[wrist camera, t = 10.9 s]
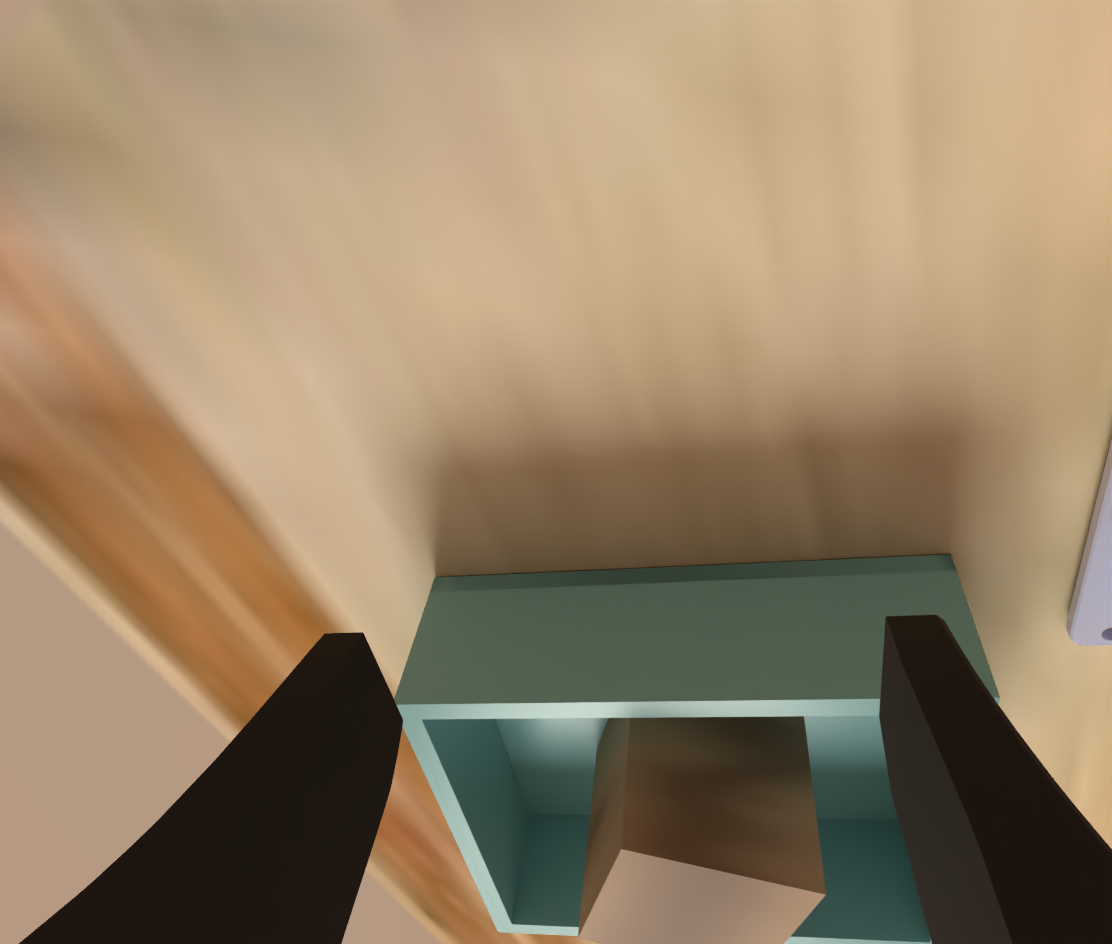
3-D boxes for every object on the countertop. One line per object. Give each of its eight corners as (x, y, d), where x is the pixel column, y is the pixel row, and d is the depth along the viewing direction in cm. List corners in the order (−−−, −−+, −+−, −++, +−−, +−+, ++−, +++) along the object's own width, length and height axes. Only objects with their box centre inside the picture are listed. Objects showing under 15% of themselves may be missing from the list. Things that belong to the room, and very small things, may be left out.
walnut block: (800, 689, 25) (826, 895, 20) (745, 781, 28) (755, 977, 23) (634, 652, 25) (621, 849, 20) (596, 748, 28) (578, 938, 23)
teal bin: (950, 554, 22) (999, 697, 18) (918, 813, 29) (949, 952, 25) (434, 577, 25) (392, 705, 21) (519, 807, 32) (498, 932, 28)
